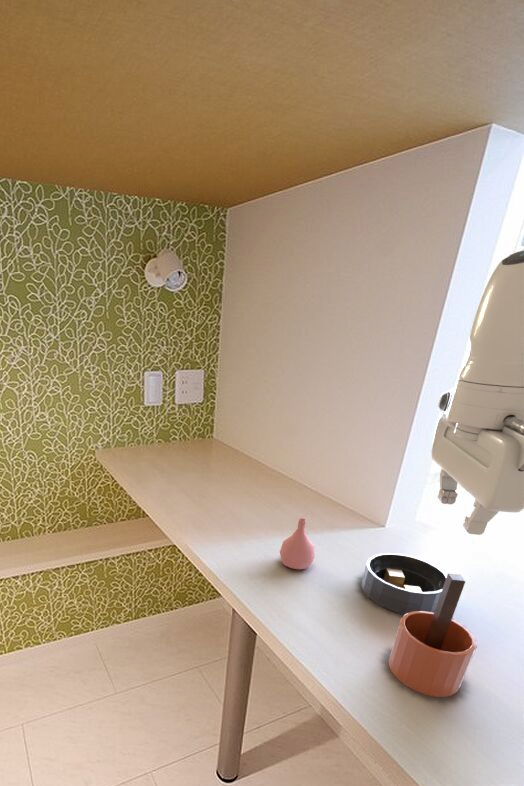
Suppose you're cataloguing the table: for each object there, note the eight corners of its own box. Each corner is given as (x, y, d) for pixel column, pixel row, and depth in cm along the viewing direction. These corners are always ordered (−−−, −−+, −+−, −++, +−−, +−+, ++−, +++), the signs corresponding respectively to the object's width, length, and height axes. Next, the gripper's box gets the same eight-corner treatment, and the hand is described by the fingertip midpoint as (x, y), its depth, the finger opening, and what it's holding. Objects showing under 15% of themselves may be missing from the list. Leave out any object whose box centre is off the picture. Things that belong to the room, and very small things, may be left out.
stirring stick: (427, 668, 71) (461, 574, 63) (431, 676, 69) (465, 581, 61) (415, 666, 71) (447, 573, 63) (418, 674, 69) (451, 579, 62)
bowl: (428, 581, 96) (435, 557, 93) (452, 624, 82) (462, 598, 80) (355, 572, 98) (360, 549, 96) (367, 613, 85) (374, 587, 82)
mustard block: (415, 599, 88) (419, 586, 87) (420, 607, 85) (424, 595, 84) (400, 596, 89) (403, 584, 87) (403, 605, 86) (407, 593, 85)
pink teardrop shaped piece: (304, 557, 104) (311, 511, 99) (318, 574, 97) (326, 526, 92) (273, 559, 103) (279, 513, 98) (285, 576, 96) (292, 528, 91)
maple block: (398, 581, 94) (401, 569, 92) (401, 589, 91) (405, 577, 90) (383, 580, 94) (386, 568, 93) (386, 587, 92) (389, 575, 90)
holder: (445, 658, 74) (461, 615, 70) (468, 706, 65) (488, 660, 61) (381, 649, 76) (393, 607, 72) (395, 693, 67) (410, 648, 63)
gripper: (579, 430, 41) (525, 558, 47) (486, 395, 59) (456, 490, 65) (504, 426, 42) (461, 551, 48) (436, 393, 60) (410, 486, 66)
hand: (457, 515), depth 56 cm, fingers open, 8 cm apart
